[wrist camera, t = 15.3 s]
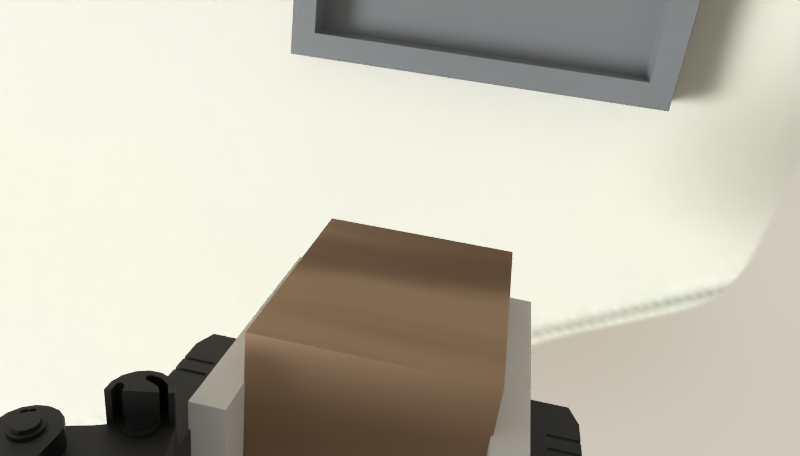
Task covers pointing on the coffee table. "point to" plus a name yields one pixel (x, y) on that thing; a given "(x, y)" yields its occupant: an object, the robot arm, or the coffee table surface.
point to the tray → (511, 42)
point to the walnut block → (379, 348)
